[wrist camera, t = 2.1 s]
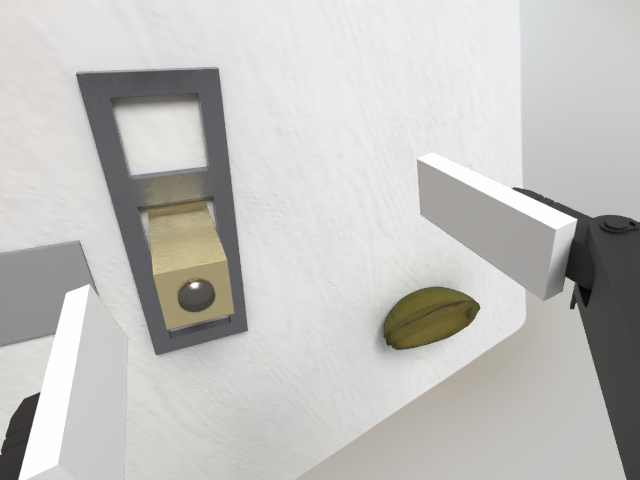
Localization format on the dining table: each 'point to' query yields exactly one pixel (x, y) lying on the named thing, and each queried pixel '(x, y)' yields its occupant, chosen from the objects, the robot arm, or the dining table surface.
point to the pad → (38, 288)
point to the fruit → (428, 317)
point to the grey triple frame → (167, 186)
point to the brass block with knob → (188, 264)
